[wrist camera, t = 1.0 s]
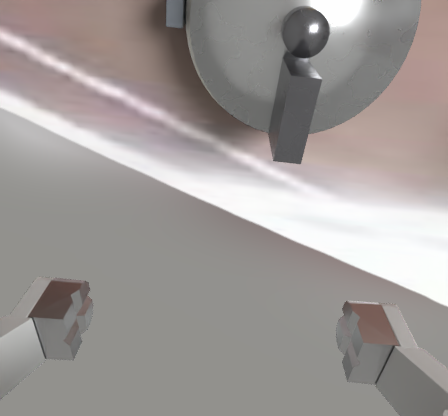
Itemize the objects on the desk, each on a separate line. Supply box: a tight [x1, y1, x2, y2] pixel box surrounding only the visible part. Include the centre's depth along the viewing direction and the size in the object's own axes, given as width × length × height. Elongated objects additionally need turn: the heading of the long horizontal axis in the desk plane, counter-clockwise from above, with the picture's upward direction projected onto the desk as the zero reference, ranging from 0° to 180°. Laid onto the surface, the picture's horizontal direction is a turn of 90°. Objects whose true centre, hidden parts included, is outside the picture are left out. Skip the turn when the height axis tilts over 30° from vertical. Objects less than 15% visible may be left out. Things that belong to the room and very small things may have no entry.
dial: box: [190, 0, 421, 164], centre depth 24 cm, size 16×16×6 cm
